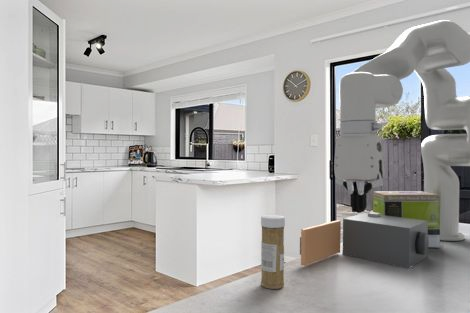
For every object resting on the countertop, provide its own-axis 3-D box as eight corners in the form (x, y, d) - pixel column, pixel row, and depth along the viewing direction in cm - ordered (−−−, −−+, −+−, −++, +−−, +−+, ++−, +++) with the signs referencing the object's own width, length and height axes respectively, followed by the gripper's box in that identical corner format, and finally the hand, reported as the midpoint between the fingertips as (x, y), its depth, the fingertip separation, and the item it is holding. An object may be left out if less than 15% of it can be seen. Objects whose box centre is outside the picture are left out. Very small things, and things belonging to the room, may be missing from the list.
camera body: (364, 244, 102) (365, 209, 101) (433, 257, 89) (433, 218, 89) (342, 254, 92) (343, 215, 92) (415, 269, 80) (416, 225, 80)
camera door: (340, 252, 92) (340, 220, 92) (304, 265, 81) (305, 229, 80) (333, 250, 93) (334, 219, 93) (297, 264, 82) (298, 228, 82)
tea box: (423, 240, 108) (423, 190, 108) (440, 249, 98) (441, 194, 98) (371, 239, 109) (372, 189, 109) (384, 247, 99) (384, 193, 99)
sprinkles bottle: (289, 286, 69) (289, 216, 69) (270, 291, 67) (271, 218, 67) (273, 279, 73) (274, 213, 73) (255, 284, 71) (256, 215, 70)
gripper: (398, 128, 78) (399, 212, 79) (335, 131, 89) (336, 205, 89) (384, 128, 73) (385, 218, 74) (319, 130, 83) (320, 210, 84)
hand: (358, 211), depth 82 cm, fingers closed
